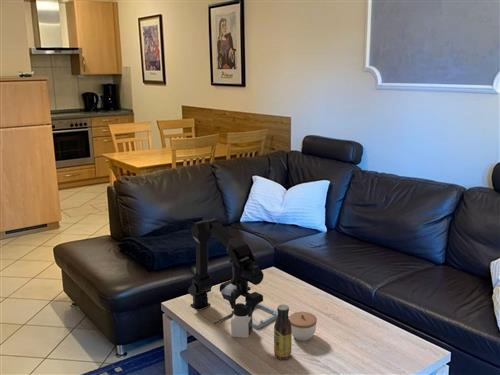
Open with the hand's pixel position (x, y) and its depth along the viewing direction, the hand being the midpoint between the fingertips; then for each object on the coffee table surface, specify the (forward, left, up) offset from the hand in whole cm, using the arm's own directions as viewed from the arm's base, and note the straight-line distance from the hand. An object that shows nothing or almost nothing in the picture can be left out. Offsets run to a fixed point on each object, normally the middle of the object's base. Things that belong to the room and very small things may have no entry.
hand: (241, 312), depth 190 cm
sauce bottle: (+22, -1, -9) cm, 24 cm away
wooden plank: (-11, +13, -9) cm, 19 cm away
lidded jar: (+19, +14, -9) cm, 25 cm away
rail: (-13, +8, -9) cm, 18 cm away
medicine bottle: (0, 0, -9) cm, 9 cm away
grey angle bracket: (-4, +13, -9) cm, 16 cm away
